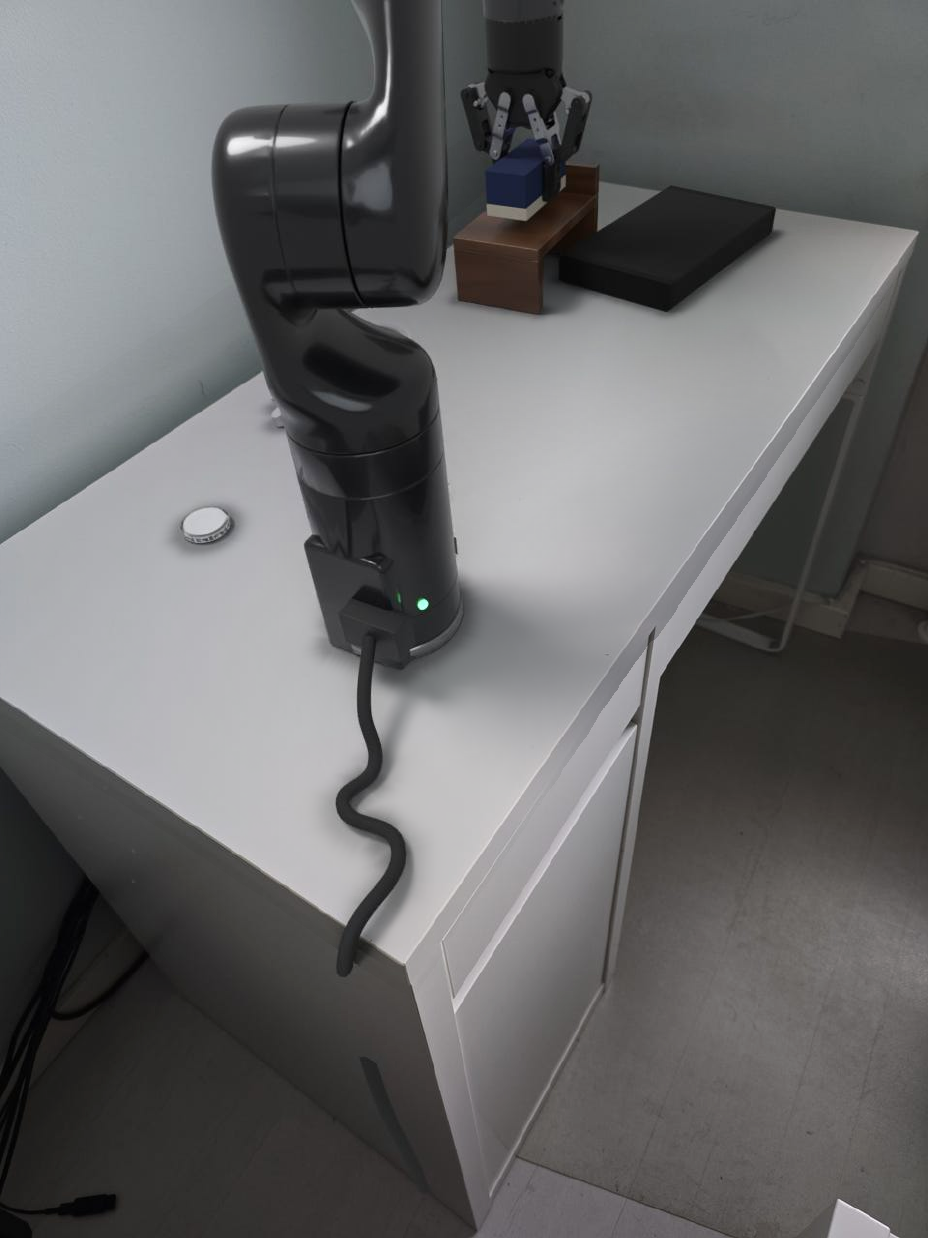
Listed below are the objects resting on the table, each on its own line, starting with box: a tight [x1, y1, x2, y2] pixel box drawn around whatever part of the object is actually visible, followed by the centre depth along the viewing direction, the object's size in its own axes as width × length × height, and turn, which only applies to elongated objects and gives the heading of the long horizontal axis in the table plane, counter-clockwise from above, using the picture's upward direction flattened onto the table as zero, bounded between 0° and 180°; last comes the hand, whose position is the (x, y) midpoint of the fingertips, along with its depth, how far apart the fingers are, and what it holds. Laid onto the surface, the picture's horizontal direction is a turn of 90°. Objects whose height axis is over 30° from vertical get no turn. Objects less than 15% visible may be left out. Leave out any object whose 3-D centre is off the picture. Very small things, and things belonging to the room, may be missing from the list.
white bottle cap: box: [179, 505, 232, 544], centre depth 72 cm, size 4×4×1 cm
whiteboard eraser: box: [484, 138, 566, 221], centre depth 93 cm, size 10×5×4 cm, turn 151°
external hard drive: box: [558, 185, 777, 313], centre depth 100 cm, size 14×23×3 cm, turn 139°
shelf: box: [452, 160, 601, 315], centre depth 97 cm, size 16×10×10 cm, turn 151°
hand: (527, 195), depth 94 cm, fingers closed on whiteboard eraser, 4 cm apart
